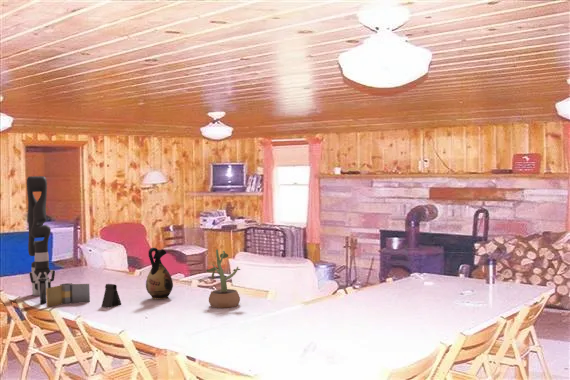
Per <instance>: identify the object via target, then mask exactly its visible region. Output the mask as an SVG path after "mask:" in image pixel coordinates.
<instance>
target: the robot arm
mask: <svg viewBox="0 0 570 380" xmlns="http://www.w3.org/2000/svg"><path fill="white" fill-rule="evenodd" d="M47 181H48V180H47V177H45V175H44V176H41V175H38V176H37V175H36V176H35V175H33V176H28V177H27V178H26V191H27V192H26V193H27V223H28V242H27V243H28V244H27V248H28V249H27V251H28V255H29V257H34V261H32V262H31V266H30V267H31V271H30V272H29V273H28V274H29V278H30V282H31V286H32V287H31V290H32V292H31V293H32V296H34V297H35V296H37V297H38V296H39V297H40V281H38V280H39V279H42V278H46V279H47V281H46V288H50V287H52V285H51V283H52V282H53V281H55V276H56V271H55V269H51V270H50V261H49V260H50V258H49V257H50V256H49V240H50V239H49V238H50V235H51V231H52V230H51V229H52V228H51V227H50V226H49V225H48V224H45V223H46V222H47V198H48V197H47V196H48V194H47V193H48V182H47ZM34 192H35V193H37V192H40V197H39V198H38V199H36V197H35V195H34ZM37 238H40V239H42V238H43V240H35V239H37ZM50 274H51V278H50V277H49V275H50Z"/></svg>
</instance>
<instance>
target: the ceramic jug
mask: <svg viewBox="0 0 570 380" xmlns="http://www.w3.org/2000/svg"><path fill="white" fill-rule="evenodd" d="M153 252H154V255H153ZM165 255H167V251H166V250H165V249H158V248H156V247H150V248H149V250H148V259H149V261H150V264H151V269H150V271H149V273H148V274H147V276H146V281H145V289H146V291H147V293H148V294H149V295H150V296H151V299H152V300H165V299H166V300H167V299H169V296H170V295H171V293H172V291H173V287H174V282H173V279H172V276H171V274H170V272H169V270H168V268H166V266H165V265H164V264H163V262H162V260H161V258H162V257H164V256H165Z"/></svg>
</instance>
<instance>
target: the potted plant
mask: <svg viewBox="0 0 570 380" xmlns="http://www.w3.org/2000/svg"><path fill="white" fill-rule="evenodd" d="M215 256H216V266H215V265H214V264H212V267H211V268H209V269H206V270H205V272H207V273H211V279H213V280H214V279H215V273H218V275H219V280H220V289H215V290H212V291H210V294H209V296H208V303H209V306H210V307H212V308H214V309H230V308H234V307H237V306H238V305H239V303H240V301H241V296H240V294H239V293H238V290H237V289H232V288H228V286H227V281H228V280H229V279H231V278H233V277H234V276H235V275H236V274H237V273H238V271H241V270H242V268H241V269H240V268H239V266H236V268H234V269H233V270H232V272H231V274H229V275H227V276H225V273H224V268H222V267H223V266H222V261H223V260H224V259H226V258H229V254H228V253H226V251H225V250H223V251H222V253H221V254H219V249H215Z"/></svg>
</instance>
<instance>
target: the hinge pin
mask: <svg viewBox="0 0 570 380" xmlns="http://www.w3.org/2000/svg"><path fill="white" fill-rule="evenodd" d="M38 281H40V296H39V304H40V305H45V304H47V300H46V281H47V279H46V278H42V279H39V280H38Z"/></svg>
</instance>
